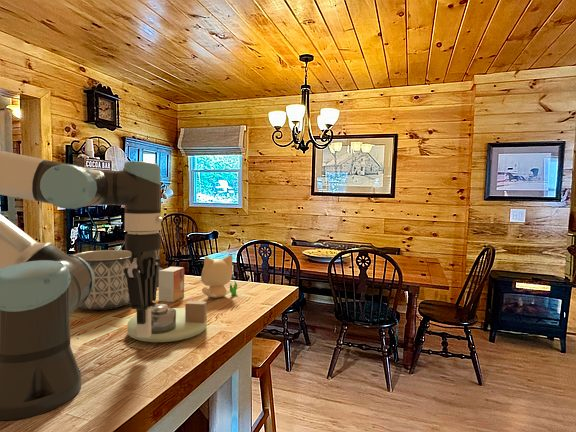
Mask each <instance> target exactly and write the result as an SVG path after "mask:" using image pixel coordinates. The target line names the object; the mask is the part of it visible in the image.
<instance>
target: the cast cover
mask: <svg viewBox="0 0 576 432" xmlns="http://www.w3.org/2000/svg"><path fill="white" fill-rule="evenodd" d="M173 308H174V307H173ZM173 308H172V307H169V305H168V304H165V303H158V304H157V303H156V305H155V306H151V334H162V333H167V332H170V331H172V330H174V329H175V328H176V310H175V309H173Z"/></svg>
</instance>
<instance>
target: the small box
mask: <svg viewBox="0 0 576 432" xmlns="http://www.w3.org/2000/svg"><path fill="white" fill-rule="evenodd" d="M184 297H185V267H183V266H182V267H181V266H169V267H167V268H163V270H160V271H159V286H158V302H165V303H166V302H167V303H174V302H176V301H177V300H179V299H181V298H184Z"/></svg>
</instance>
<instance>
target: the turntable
mask: <svg viewBox="0 0 576 432" xmlns="http://www.w3.org/2000/svg"><path fill="white" fill-rule="evenodd" d="M207 303H208V302H207V301H204V300H203V301H202V300H201V301H200V300H199V301H198V300H196V301H195V300H188V301H186V302H185V306H184V307H183V308H182V307H176V308H175V307H173V309H175V310H176V328H175V329H174V330H172V331H170V332H167V333H162V334H151V336H150V337H149V338H144V337H137V315H134V316H132V318H130V319H129V320H128V322H127V334H128V336H129V337H130V338H132V339H133V340H134V339H135V340H137V341H141V342H147V343H169V342H177V341H181V340H186V339H189V338H192V337H195V336H198V335H199V334H201V333H203V332H204V331H205V330H206V329H207V325H208V324H207V322H208V321H207V320H208V319H207V318H208V317H207V315H208V314H207V313H208V312H207V311H208V307H207V306H208V304H207Z"/></svg>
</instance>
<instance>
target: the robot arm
mask: <svg viewBox="0 0 576 432" xmlns="http://www.w3.org/2000/svg"><path fill="white" fill-rule="evenodd" d="M0 195H2V196H5V197H6V196H7V197H13V198H16V199H23V200H29V201H36V202H40V203H44V204H45V203H46V204H51V205H53V206H54V207H57V208H60V209H66V210H67V209H68V210H74V209H76V210H77V209H81V208H83V207H90V206H91V207H92V206H124V231H125V232H127V233H125V235H124V242H125V243H124V250H126V251H130V252H131V253H132V254H131V260H130V262H131V266H130V268H125V269H124V273H125V276H126V278H127V285H128V292H129V299H130V303H129V305H130V309H131V310H135V311H136V316H137V337H144V338H149V337H150V336H151V306H155V305H156V304H157V302H155V301H156V300H157V290H158V287H157V281H158V270H159V267H160V264H161V258H158V259H156V258H155V251H156V250H157V251H158V250H159V249H160V250H161V248H162V233H161V232H160V231H161V230H162V222H163V220H164V219H163V217H162V175H161V166H160V165H159V164H158V163H156V162H152V161H141V160H139V161H138V160H137V161H136V160H135V161H133V160H130V161H126V162H125V163H124V165H123V169H119V170H117V169H116V170H107V169H106V170H105V169H93V168H88V167H83V166H81V165H77V164H73V163H65V162H58V161H53V160H47V159H44V158H39V157H34V156H30V155H24V154H19V153H15V152H10V151H5V150H4V151H3V150H0ZM160 250H159V251H160ZM93 286H94V274H93V271H92V268H91V267H90V265H89V264H88V263H87V262H86V261H85V260H83V259H82V258H80V257H78V256H74V254H66V253H65V252H64V251H63V250H61V249H60V248H59V247H58V246H56V245H55V244H53V243H52V242H51V241H50V242H38V241H37V240H36V239H34V238H33V237H31V236H30V235H29V234H28V233H26V232H25V231H23V230H22V229H21V228H20V227H18V226H17V225H16V224H14V223H13V222H12V221H10V220H9V219H8V218H7V217H6V216H4V215H3V214H2V213H0V421H13V420H19V419H21V420H22V419H24V418H30V417H34V416H37V415H41V414H43V413H46V412H49V411H51V410H54V409H56V408H57V409H58V407H60V406H62V405H64V404H66V403H67V402H70V401H71V400H72V399H73V398H75V396H76V395H77V394H79V392H80V390H81V389H82V373H81V369H80V368H79V366H78V362H77V361H76V358H75V354H74V352H73V350H72V348H71V315H72V314H73V313H74V312H75V311H76V310H77V309H79V308H78V307H79V306H81V305H82V304H83V303H84V302H85V301H86V300H87V298H88V297H89V295H90V293H91V291H92V289H93Z"/></svg>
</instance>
